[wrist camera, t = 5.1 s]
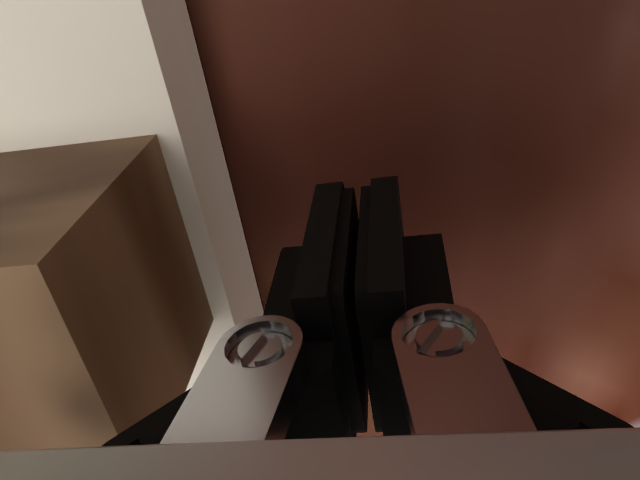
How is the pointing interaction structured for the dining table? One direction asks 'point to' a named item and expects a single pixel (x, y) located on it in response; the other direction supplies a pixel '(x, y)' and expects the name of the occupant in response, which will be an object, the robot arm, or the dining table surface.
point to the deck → (131, 118)
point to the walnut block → (93, 292)
